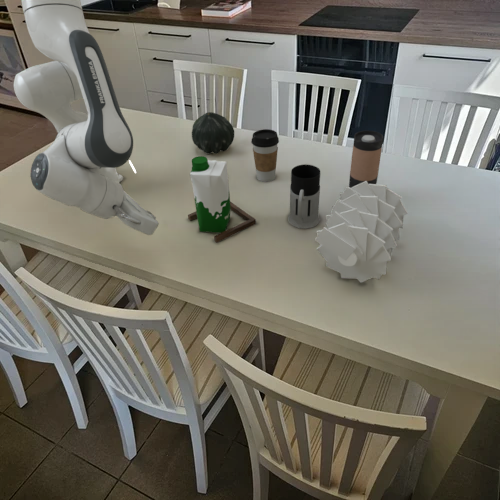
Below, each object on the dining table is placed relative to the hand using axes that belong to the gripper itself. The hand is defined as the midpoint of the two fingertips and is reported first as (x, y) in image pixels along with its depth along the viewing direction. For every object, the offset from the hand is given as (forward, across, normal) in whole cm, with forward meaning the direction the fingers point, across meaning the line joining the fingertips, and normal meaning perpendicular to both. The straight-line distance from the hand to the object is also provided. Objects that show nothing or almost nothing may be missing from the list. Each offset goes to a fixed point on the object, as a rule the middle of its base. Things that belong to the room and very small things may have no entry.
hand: (151, 217), depth 110 cm
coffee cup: (+39, +11, -24) cm, 47 cm away
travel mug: (+47, -18, -33) cm, 60 cm away
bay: (+21, 0, -6) cm, 22 cm away
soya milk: (+20, 0, -5) cm, 20 cm away
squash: (+38, +39, -24) cm, 59 cm away
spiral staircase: (+33, -35, -19) cm, 52 cm away
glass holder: (+33, -16, -18) cm, 41 cm away
